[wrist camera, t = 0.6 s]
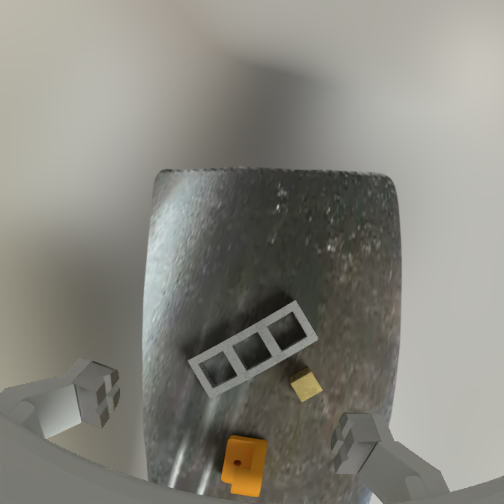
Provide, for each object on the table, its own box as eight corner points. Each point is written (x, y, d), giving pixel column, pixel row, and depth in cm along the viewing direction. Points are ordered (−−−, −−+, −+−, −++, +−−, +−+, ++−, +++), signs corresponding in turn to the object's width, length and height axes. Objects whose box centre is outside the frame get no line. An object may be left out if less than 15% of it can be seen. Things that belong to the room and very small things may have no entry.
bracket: (230, 432, 53) (220, 458, 41) (267, 438, 52) (265, 466, 40) (222, 475, 51) (212, 505, 39) (258, 481, 50) (254, 513, 38)
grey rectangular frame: (316, 337, 55) (318, 339, 52) (213, 394, 54) (210, 398, 51) (294, 300, 56) (295, 300, 54) (191, 358, 56) (187, 360, 53)
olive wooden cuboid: (318, 383, 53) (322, 390, 48) (299, 394, 53) (302, 402, 48) (308, 366, 54) (311, 371, 49) (289, 377, 54) (290, 383, 49)
